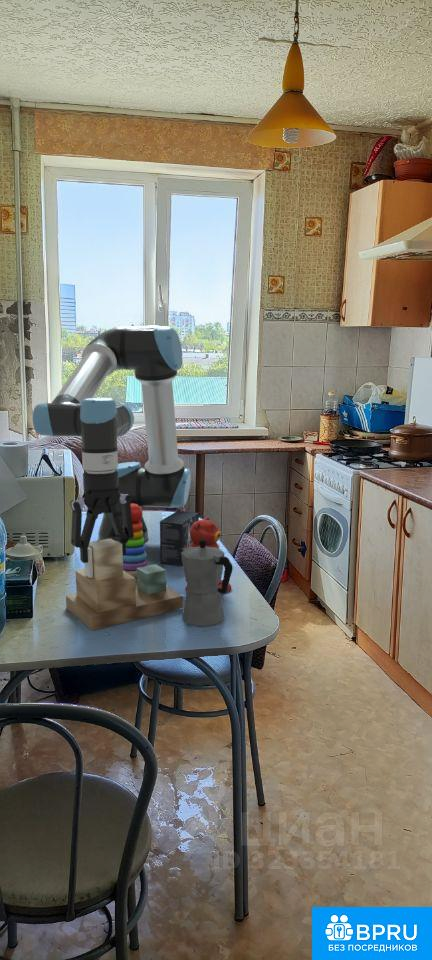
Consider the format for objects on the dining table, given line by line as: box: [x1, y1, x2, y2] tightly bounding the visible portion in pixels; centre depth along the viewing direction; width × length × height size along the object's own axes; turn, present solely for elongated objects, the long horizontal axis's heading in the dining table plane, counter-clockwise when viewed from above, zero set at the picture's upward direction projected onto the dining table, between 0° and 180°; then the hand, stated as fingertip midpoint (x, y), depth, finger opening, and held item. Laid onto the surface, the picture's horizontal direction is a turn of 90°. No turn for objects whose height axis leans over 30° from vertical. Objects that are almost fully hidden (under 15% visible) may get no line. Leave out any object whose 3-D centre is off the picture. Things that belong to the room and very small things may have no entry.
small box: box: [159, 510, 200, 567], centre depth 193 cm, size 13×7×12 cm, turn 161°
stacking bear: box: [184, 517, 232, 593], centre depth 167 cm, size 11×10×18 cm
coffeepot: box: [181, 539, 234, 627], centre depth 149 cm, size 15×9×18 cm, turn 43°
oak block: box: [88, 538, 123, 581], centre depth 153 cm, size 6×6×7 cm
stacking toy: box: [123, 504, 148, 579], centre depth 179 cm, size 8×8×19 cm
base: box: [65, 563, 184, 631], centre depth 157 cm, size 22×15×9 cm
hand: (104, 573), depth 154 cm, fingers open, 6 cm apart
